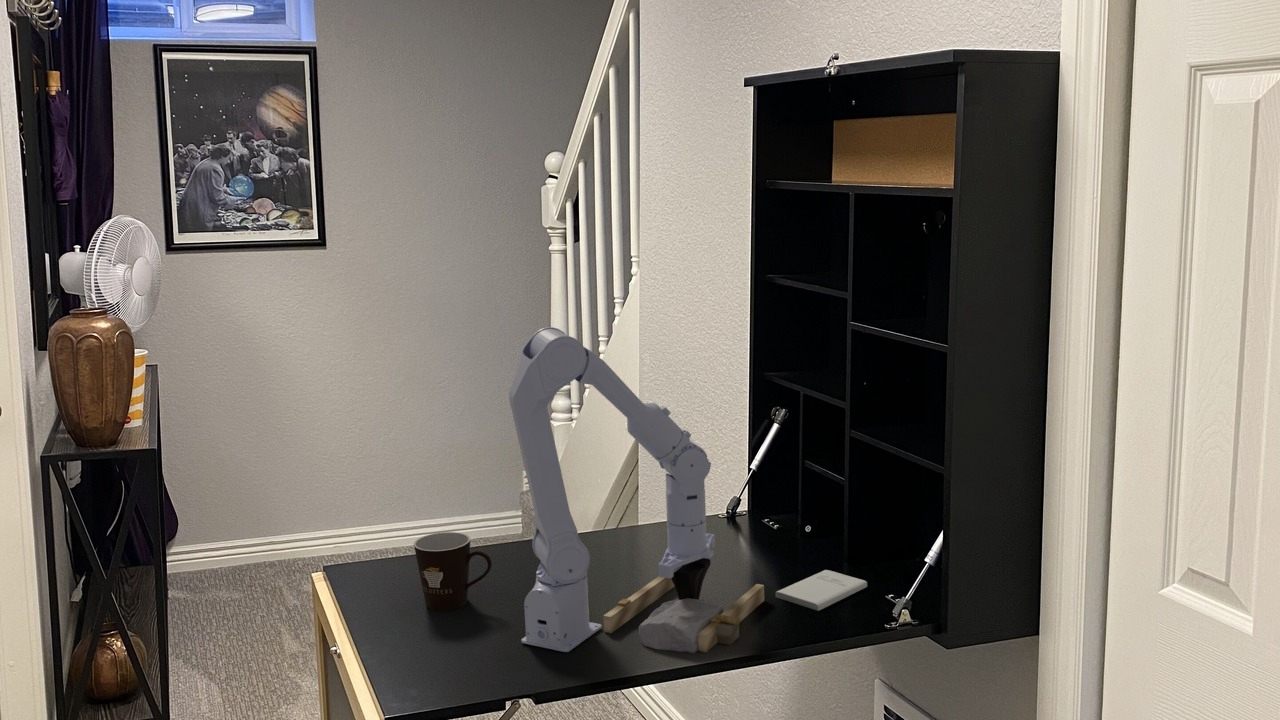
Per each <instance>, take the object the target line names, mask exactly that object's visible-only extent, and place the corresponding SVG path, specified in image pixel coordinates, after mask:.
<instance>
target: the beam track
mask: <svg viewBox="0 0 1280 720" xmlns="http://www.w3.org/2000/svg"><path fill="white" fill-rule="evenodd" d="M673 588H675V586H674V584H673V582H672V580H671V579H670V578H664V577H659V576H657V577H655V578H654V579H653V580H651V581H649V583H647V584H646V585H644V586H643V587H642V588H640V589H639V590H637V591H636V592H635V593H633V594H632V595H631V596H629V597H628V598H622V599H621V600H619V601H618V602H617V605H616V606H615V607H613V608H611V610H609V611H608V612H606V613H604V615H603V631H604V633H608V634H613V633H614V632H615V631H616V630H618V629H619V628H620V627H622V626H623V625H624V624H626V623H627V622H629V621H630V620H631V619H633V618H634V617H636V616H637V615H639V613H641V612H642V611H644V610H645V609H646V608H647V607H648V606H650V605H652V604H654V603H655V602H656V601H657V600H659V599H660V598H661V597H662V596H664V595H665V594H666V593H668V592H669V591H670V590H671V589H673ZM764 602H765V585H764V584H760V583H756V584H754V586H752V587H751V588H750V589H749V590H747V592H745V593H744V594H743V595H741V596H740V597H739V598H738V599H737V600H736V601H735V602H733V603H732V604H731V605H730V606H729V607H727V608H726V609H725V610H723V613H722V614H721V615H720V614H717V616H715V617H714V618H712V619H711V623H710V624H709V625H708V626H706V627H705V628H704V629H703V630H702V631H701V632H699V633H698V651H699V652H701V653H702V652H703V653H708V652H709V650H711V649H712V648H713V647H714V646H715V645H716V644H722V645H729V646H730V645H732V644H733V643H734V642H735V641H736V640H737V639H739V637H740V623H741V622H742V621H743V620H744V619H745V618H746V617H748V616H749V614H751V613H752V612H753V611H754V610H756V609H757V608H758V607H759V606H760V605H761V604H762V603H764ZM698 651H697V652H698Z"/></svg>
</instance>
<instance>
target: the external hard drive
mask: <svg viewBox="0 0 1280 720" xmlns="http://www.w3.org/2000/svg"><path fill="white" fill-rule="evenodd" d="M867 587H868V581H866V580H864V579H860V578H857V577H853V576H850V575H846V574H843V573H839V572H838V571H837V572H836V571H832V570H830V569H829V570H828V569H824V570H822V571H820V572H818V573H815V574H813V575H811V576H809V577H806V578H804V579H802V580H800V581H797V582H794V583H793V584H791V585H788V586H786V587H784V588H781V589H779V590H777V591H775V598H777V599H780V600H783V601H787V602H789V603H793V604H796V605H799V606H802V607H804V608H808V609H811V610H814V611H817V612H819V611H821V610H823V609H825V608H827V607H830V606H831V605H833V604H835V603H838V602H840V601H842V600H843V599H847V598H848V597H850V596H851V595H854V594H855V593H857V592H860V591H862V590H864V589H866V588H867Z"/></svg>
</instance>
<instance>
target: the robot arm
mask: <svg viewBox="0 0 1280 720" xmlns="http://www.w3.org/2000/svg"><path fill="white" fill-rule="evenodd" d="M573 381H576V382H577V383H579V384H583V385H588V386H592V387H594V389H595V390H597V391H598V392H599V393H600V394H601V395H602V396H603V397H605V399H606V400H607V401H609V402H610V404H612V405H613V406H614V408H616V409H617V410H618V411H619V412H620V413H621V414H622V415H623V416H624V417H626V420H627V421H626V422H627V424H626V425H627V432H628V434H629V435H630V436H631V437H632V438H634V440H636V441H637V442H638V444H640V445H641V447H642V448H643V449H645V450H646V451H647V453H648V454H650V455H651V456H652V458H654V459H655V460H656V461H658V465H659V466H660V468H661V469H664V470H665V472H666V473H665V501H666V505H665V507H666V531H667V532H666V533H667V548H666V549H665V552H664V555H663V557H662V560H661V561H660V562H659V563H658V564H657V568H658V577H664V578H670V579H671V580H672V582H673V584H674V589H675V591H676V595H677V597H678V600H682V599H687V598H690V599H697V600H700V596H701V591H702V586H703V583H704V579H705V577H706V575H707V573H708V570H709V568H710V567H711V558H712V557H713V556H715V551H714V549H713V548H715V546H716V537H715V534H714V533H713V534H712V533H708V532H707V523H706V521H707V517H706V516H707V513H706V512H707V510H706V489H705V480H706V477H708V475H709V473H710V470H711V467H712V462H711V461H709V459H708V454H707V453H706V451H705V450H704V448H702V447H701V446H699V445H698V444H696V443H695V442H693V441H692V440H691V439H690V438H691V437H692V434H691V433H690V432H689V431H688V430H687V429H682V428H681V427H680V426H679V425H678V424H677V423H676V422H675V421H674V420H673V419H672V418H671V417H670V415H671V413H672V412H671V411H670V410H669V409H668V408H667V407H666V406H664V405H661V406H659V405H658V404H657V403H656V402H655V403H654V402H650V403H649V402H647V403H646V402H642V400H641V399H640V398H639V397H638V396H637V395H636V394H635V393H634V392H633V391H632V389H631V388H629V386H628V385H627V384H626V383H625V382H624V381H623V380H622V379H621V377H619V375H617V373H616V372H615V371H614V370H613V369H612V368H611V367H610V366H609V365H608V363H606V361H604V360H603V359H602V358H601V357H599V356H598V355H597V354H595V353H594V352H593V351H592V350H590V349H588V348H587V347H586V346H583V344H582V342H581V341H580V340H578V339H577V338H575V337H572V336H569V335H567V333H565V332H564V331H563V330H561V329H559V328H557V327H553V326H550V327H549V326H548V327H547V326H546V327H543V328H540V329H538V330H537V331H535V332H534V333H533V335H531V337H530V338H529V339H528V340H527V341H526V343H525V344H524V345H523V346H522V347H521V351H520V358H519V363H518V365H517V367H516V370H515V375H514V377H513V380H512V383H511V386H510V389H509V393H508V395H509V396H508V397H509V398H508V399H509V404H510V409H511V412H512V417H513V422H514V426H515V431H516V435H517V439H518V444H519V449H520V453H521V456H522V457H521V458H522V461H523V466H524V471H525V475H526V479H527V485H528V489H529V494H530V497H531V502H532V505H533V510H534V515H533V524H534V534H533V537H532V545H531V546H532V550H533V553H534V554H535V555H534V556H536V558H537V559H538V560H540V563H539V565H538V567H537V571H536V572H535V573H536V577H535V584H534V586H533V587H532V589H531V590H530V591H529V592H528V593H527V595H526V597H525V598H524V603H523V606H524V608H523V609H524V622H525V625H524V626H525V636H524V637H523V638H521V641H520V642H521V643H522V644H526V645H530V646H534V647H540V648H544V649H548V650H553V651H558V652H563V653H569V652H570V651H572V650H573V649H574V648H577V646H579V645H580V644H582V642H584V641H586V639H588V638H590V637H591V636H592V635H594V634H595V633H597V632H598V631H599V630H601V629H602V626H603V625H602V624H601V623H596V622H590V609H589V606H590V605H589V588H588V569H589V567H590V562H591V561H590V560H591V557H590V552H589V549H588V548H587V546H586V545H585V544H584V543H583V542H582V541H581V539H580V538H579V537H580V536H579V531H578V529H577V527H576V526H577V525H576V524H575V521H574V518H573V516H572V513H571V511H570V506H569V501H568V497H567V493H566V488H565V484H564V478H563V474H562V470H561V465H560V460H559V455H558V452H557V446H556V441H555V437H554V432H553V428H552V422H551V419H550V413H549V410H548V405H549V404H550V403H551V401H552V400H553V398H554V397H555V396H556V395H557V393H558V392H559V391H560V390H562V389H563V388H564V387H566V386H567V385H569V384H570V383H572V382H573Z"/></svg>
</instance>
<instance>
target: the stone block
mask: <svg viewBox="0 0 1280 720" xmlns="http://www.w3.org/2000/svg"><path fill="white" fill-rule="evenodd" d="M723 612H724V607H723V604H716V603H713V602H710V601H705V600H703V599H699V600H697V599H690V598H687V599H682V600H679V599H674V600H669V601H666V602H663V603H661V605H660V606H659V607H657V608H655V609H654V610H653V611H652V612H651V613H650V615H649V616H648V618H646V619H644V620H643V622H642V623H640V625H638V636H639V639H640V642H641V643H642V645H643V646H644V647H649V648H651V649H656V650H665V651H675V652H679V653H683V652H684V653H690V654H695V653H697V652H698V633H699V632H701V631H702V630H703V629H704V628H705V627H706V626H708V625H709V624H710V623H711V619H712V618H714V617H715V616H717V614H720V615H721V614H722V613H723Z"/></svg>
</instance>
